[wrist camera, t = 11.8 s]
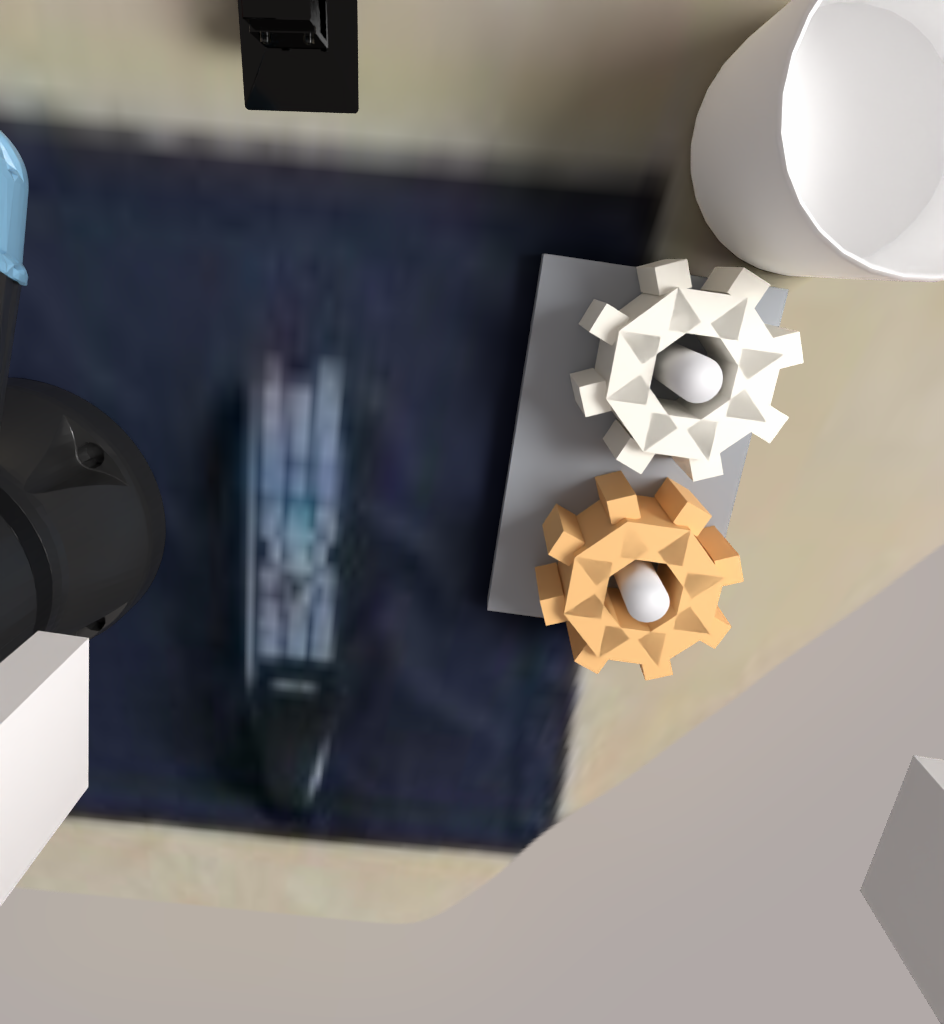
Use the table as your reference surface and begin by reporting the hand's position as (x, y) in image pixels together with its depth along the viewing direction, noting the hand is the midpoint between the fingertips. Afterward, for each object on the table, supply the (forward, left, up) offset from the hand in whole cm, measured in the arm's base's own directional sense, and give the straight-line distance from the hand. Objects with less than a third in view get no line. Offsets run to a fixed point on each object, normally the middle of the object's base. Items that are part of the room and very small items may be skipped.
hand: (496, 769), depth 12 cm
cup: (+13, +15, -31) cm, 37 cm away
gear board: (+7, -1, -30) cm, 31 cm away
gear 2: (+8, -7, -29) cm, 31 cm away
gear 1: (+8, +4, -29) cm, 30 cm away
